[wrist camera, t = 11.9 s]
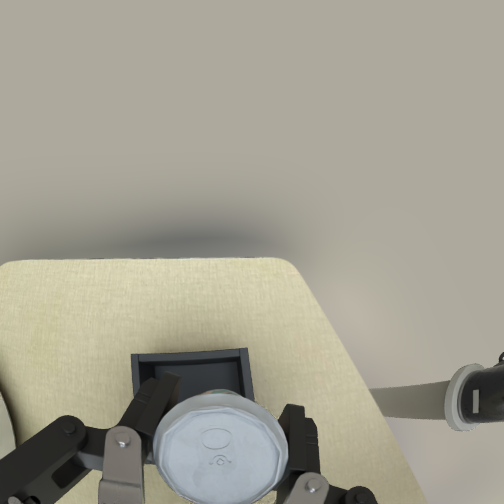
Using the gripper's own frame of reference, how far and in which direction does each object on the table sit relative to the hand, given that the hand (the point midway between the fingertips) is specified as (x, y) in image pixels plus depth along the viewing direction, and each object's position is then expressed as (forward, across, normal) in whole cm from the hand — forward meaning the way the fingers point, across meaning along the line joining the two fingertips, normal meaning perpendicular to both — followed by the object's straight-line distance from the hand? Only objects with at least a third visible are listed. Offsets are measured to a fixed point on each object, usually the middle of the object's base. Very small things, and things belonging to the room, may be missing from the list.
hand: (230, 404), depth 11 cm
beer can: (+5, 0, -7) cm, 9 cm away
